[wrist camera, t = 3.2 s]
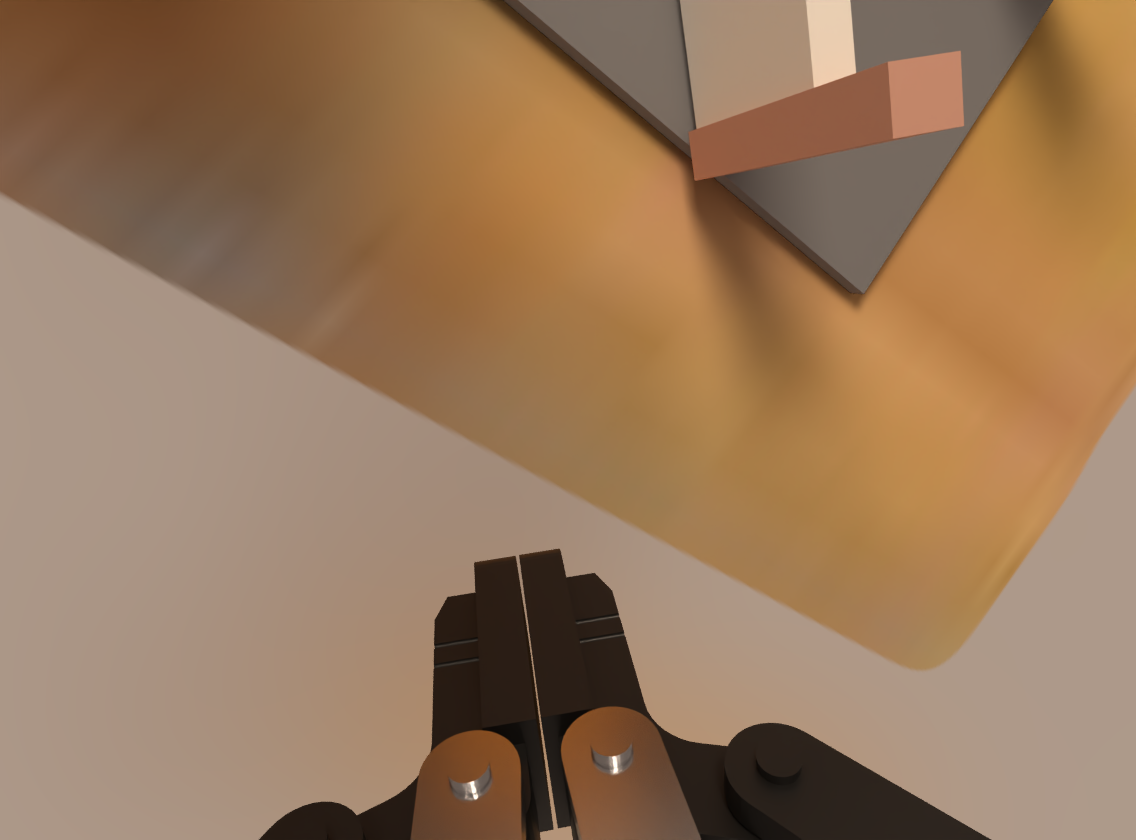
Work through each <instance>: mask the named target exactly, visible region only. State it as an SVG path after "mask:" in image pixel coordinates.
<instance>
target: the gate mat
mask: <svg viewBox="0 0 1136 840" xmlns="http://www.w3.org/2000/svg"><path fill="white" fill-rule="evenodd" d="M504 1H505V2H506V3H507V4H508V5H509V6H511V7H512V8H513V9H514V10H515V11H517V12H518V13H519V14H520V15H521V16H523V17H524V18H525V19H526V20H527V21H528V22H530V23H531V24H532V25H533V26H534V27H536V28H537V29H538V30H539V31H540V32H542V33H543V34H544V35H545V36H546V37H547V38H549V39H550V40H551V41H552V42H553V43H555V44H556V45H557V46H558V47H559V48H561V49H562V50H563V51H564V52H565V53H566V54H568V55H569V56H570V57H571V58H572V59H574V60H575V61H576V62H577V63H578V64H580V65H581V66H582V67H583V68H584V69H585V70H587V71H588V72H589V73H590V74H591V75H593V76H594V77H595V78H596V79H597V80H599V81H600V82H601V83H602V84H603V85H604V86H606V87H607V88H608V89H609V90H610V91H612V92H613V93H614V94H615V95H616V96H618V97H619V98H620V99H621V100H622V101H623V102H625V103H626V104H627V105H628V106H629V107H631V108H632V109H633V110H634V111H635V112H637V113H638V114H639V115H640V116H641V117H642V118H644V119H645V120H646V121H647V122H648V123H650V124H651V125H652V126H653V127H654V128H656V129H657V130H658V131H659V132H660V133H661V134H663V135H664V136H665V137H666V138H667V139H669V140H670V141H671V142H672V143H673V144H675V145H676V146H677V147H678V148H679V149H680V150H682V151H683V152H684V153H685V154H686V155H688V156H689V157H690V158H691V159H692V157H691V149H690V142H689V134H688V132H690V131H693V130H695V129H697V128H696V121H695V113H694V105H693V98H692V90H691V82H690V75H689V67H688V59H687V52H686V44H685V36H684V28H683V21H682V13H681V5H680V0H504ZM1052 1H1053V0H850V2H851V15H852V28H853V40H854V53H855V66H856V73H858V72H860V71H863V70H866V69H869V68H872V67H875V66H877V65H880V64H883V63H886V62H890V61H896V60H903V59H909V58H916V57H922V56H929V55H935V54H942V53H949V52H955V51H961V69H962V91H963V112H964V126H961V127H957V128H952V129H947V130H942V131H937V132H933V133H928V134H923V135H918V136H913V137H909V138H904V139H899V140H894V141H889V142H885V143H880V144H875V145H870V146H865V147H861V148H856V149H851V150H846V151H841V152H837V153H832V154H827V155H822V156H817V157H813V158H808V159H803V160H798V161H793V162H789V163H784V164H779V165H774V166H769V167H765V168H760V169H755V170H750V171H745V172H740V173H735V174H729V175H724V176H718V177H714V178H715V179H716V180H717V181H718V182H720V183H721V184H722V185H723V186H724V187H726V188H727V189H728V190H729V191H730V192H731V193H733V194H734V195H735V196H736V197H737V198H739V199H740V200H741V201H742V202H743V203H745V204H746V205H747V206H748V207H749V208H750V209H752V210H753V211H754V212H755V213H756V214H758V215H759V216H760V217H761V218H762V219H764V220H765V221H766V222H767V223H768V224H769V225H771V226H772V227H773V228H774V229H775V230H777V231H778V232H779V233H780V234H781V235H783V236H784V237H785V238H786V239H787V240H788V241H790V242H791V243H792V244H793V245H794V246H796V247H797V248H798V249H799V250H800V251H802V252H803V253H804V254H805V255H806V256H807V257H809V258H810V259H811V260H812V261H813V262H815V263H816V264H817V265H818V266H819V267H821V268H822V269H823V270H824V271H825V272H826V273H828V274H829V275H830V276H831V277H832V278H834V279H835V280H836V281H837V282H838V283H840V284H841V285H842V286H843V287H844V288H845V289H847V290H848V291H849V292H850V293H858V294H864V293H865V291H866V290H867V288H868V287H869V285H870V284H871V282H872V281H873V279H874V277H875V276H876V274H877V273H878V271H879V270H880V268H881V267H882V265H883V263H884V262H885V260H886V259H887V257H888V256H889V254H890V253H891V251H892V249H893V248H894V246H895V245H896V243H897V242H898V240H899V239H900V237H901V236H902V234H903V232H904V231H905V229H906V228H907V226H908V225H909V223H910V222H911V220H912V218H913V217H914V215H915V214H916V212H917V211H918V209H919V208H920V206H921V205H922V203H923V201H924V200H925V198H926V197H927V195H928V194H929V192H930V191H931V189H932V187H933V186H934V184H935V183H936V181H937V180H938V178H939V177H940V175H941V174H942V172H943V170H944V169H945V167H946V166H947V164H948V163H949V161H950V160H951V158H952V156H953V155H954V153H955V152H956V150H957V149H958V147H959V146H960V144H961V143H962V141H963V139H964V138H965V136H966V135H967V133H968V132H969V130H970V129H971V127H972V125H973V124H974V122H975V121H976V119H977V118H978V116H979V115H980V113H981V111H982V110H983V108H984V107H985V105H986V104H987V102H988V101H989V99H990V98H991V96H992V94H993V93H994V91H995V90H996V88H997V87H998V85H999V84H1000V82H1001V80H1002V79H1003V77H1004V76H1005V74H1006V73H1007V71H1008V70H1009V68H1010V67H1011V65H1012V63H1013V62H1014V60H1015V59H1016V57H1017V56H1018V54H1019V53H1020V51H1021V49H1022V48H1023V46H1024V45H1025V43H1026V42H1027V40H1028V39H1029V37H1030V36H1031V34H1032V32H1033V31H1034V29H1035V28H1036V26H1037V25H1038V23H1039V22H1040V20H1041V18H1042V17H1043V15H1044V14H1045V12H1046V11H1047V9H1048V8H1049V6H1050V4H1051V3H1052Z"/></svg>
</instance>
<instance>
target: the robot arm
mask: <svg viewBox="0 0 1136 840" xmlns="http://www.w3.org/2000/svg"><path fill="white" fill-rule="evenodd" d="M519 557H520V565H521V573H522V579H523V587H524V595H525V603H526V609H527V617H528V624H529V633H530V640H531V647H532V655H533V663H534V670H535V677H536V684H537V693H538V700H539V706H540V714H541V722H542V728H543V735H544V741H545V748H546V754H547V760H548V767H549V773H550V780H551V786H552V793H553V799H554V805H555V812H556V818H557V824H558V828H562V827H567V826H571V829H572V836H573V840H991V839H989V838H987V837H985V836H984V835H982V834H980V833H978V832H977V831H975V830H973V829H972V828H970V827H968V826H966V825H965V824H963V823H961V822H959V821H958V820H956V819H954V818H953V817H951V816H949V815H947V814H945V813H944V812H942V811H940V810H939V809H937V808H935V807H934V806H932V805H930V804H928V803H927V802H925V801H923V800H922V799H920V798H918V797H916V796H915V795H913V794H911V793H909V792H908V791H906V790H904V789H902V788H901V787H899V786H897V785H895V784H894V783H892V782H890V781H888V780H887V779H885V778H883V777H882V776H880V775H878V774H877V773H875V772H873V771H871V770H870V769H868V768H866V767H864V766H862V765H861V764H859V763H858V762H856V761H854V760H852V759H851V758H849V757H847V756H845V755H843V754H842V753H840V752H838V751H836V750H835V749H833V748H831V747H830V746H828V745H826V744H825V743H823V742H821V741H819V740H818V739H816V738H814V737H813V736H811V735H809V734H807V733H806V732H804V731H801V730H800V729H797V728H795V727H792V726H789V725H784V724H779V723H763V724H758V725H753V726H751V727H748V728H746V729H744V730H742V731H741V732H739V733H738V734H737V735H736V736H735V737H734V738H733V739H732V740H731V742H730V743H729V745H728V746H720V745H711V744H702V743H695V742H689V741H686V740H683V739H680V738H678V737H676V736H673V735H671V734H670V733H668V732H667V731H665V730H663V729H662V728H661V727H660V726H659V725H658V724H657V723H656V722H655V721H654V720H653V719H652V718H651V716H650V714H649V713H648V711H647V709H646V706H645V703H644V700H643V697H642V693H641V689H640V686H639V682H638V679H637V676H636V672H635V669H634V665H633V662H632V658H631V655H630V651H629V648H628V644H627V641H626V637H625V636H624V630H623V627H622V623H621V620H620V618H619V613H618V609H617V606H616V603H615V599H614V596H613V592H612V590H611V589H610V588H609V587H608V586H607V585H606V584H605V583H604V582H603V581H602V580H601V579H600V578H599V577H598V576H597V575H596V574H595V573H592V574H585V575H579V576H573V577H567V578H566V575H565V570H564V565H563V560H562V555H561V551H560V549H554V550H548V551H542V552H535V553H529V554H524V555H519ZM474 568H475V569H474V570H475V592H476V593H470V594H464V595H458V596H451V597H447V599H446V601H445V603H444V604H443V606H442V608H441V610H440V612H439V613H438V615H437V617H436V619H435V631H434V633H435V634H434V635H435V636H434V646H435V649H434V677H433V678H434V681H433V721H432V723H433V724H432V747H431V752H430V754H429V755H428V756H427V758H426V760H425V761H424V763H423V765H422V767H421V769H420V773H419V776H418V777H417V778H416V779H415V780H414V781H413V782H412V783H411V784H410V785H409V786H408V787H407V788H406V789H405V790H403V791H402V792H400V793H399V794H398V795H396V796H394V797H393V798H391V799H389V800H387V801H385V802H383V803H381V804H380V805H377V806H375V807H373V808H371V809H369V810H367V811H365V812H363V813H361V814H359V815H356V814H355V813H354V812H353V811H352V810H351V809H349V808H347V807H346V806H344V805H342V804H339V803H334V802H318V803H312V804H308V805H305V806H302V807H300V808H298V809H295V810H293V811H292V812H290V813H288V814H286V815H285V816H284V817H282V818H281V819H280V820H278V821H277V822H276V823H275V824H274V825H273V826H272V827H271V828H269V830H268V831H267V832H266V833H265V834H264V835H263V836H262V837H261V838H260V839H259V840H540V832H543V831H548V830H553V821H552V814H551V806H550V799H549V791H548V783H547V775H546V768H545V760H544V753H543V745H542V738H541V730H540V723H539V715H538V706H537V699H536V692H535V684H534V676H533V668H532V661H531V653H530V646H529V639H528V632H527V625H526V619H525V612H524V606H523V600H522V594H521V587H520V580H519V574H518V567H517V561H516V557H515V556H512V557H506V558H499V559H493V560H487V561H480V562H475V563H474Z"/></svg>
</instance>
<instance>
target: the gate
mask: <svg viewBox="0 0 1136 840" xmlns="http://www.w3.org/2000/svg"><path fill="white" fill-rule="evenodd" d="M680 5H681V13H682V21H683V28H684V36H685V44H686V52H687V59H688V67H689V75H690V82H691V90H692V98H693V105H694V113H695V121H696V128H697V129H695V130H693V131H690V132H688V134H689V142H690V149H691V157H692V164H693V172H694V179H695V181H697V180H702V179H707V178H713V177H718V176H724V175H729V174H735V173H740V172H745V171H750V170H755V169H760V168H765V167H769V166H774V165H779V164H784V163H789V162H793V161H798V160H803V159H808V158H813V157H817V156H822V155H827V154H832V153H837V152H841V151H846V150H851V149H856V148H861V147H865V146H870V145H875V144H880V143H885V142H889V141H894V140H899V139H904V138H909V137H913V136H918V135H923V134H928V133H933V132H937V131H942V130H947V129H952V128H957V127H961V126H964V112H963V91H962V69H961V51H955V52H949V53H942V54H935V55H929V56H922V57H916V58H909V59H903V60H896V61H890V62H886V63H883V64H880V65H877V66H875V67H872V68H869V69H866V70H863V71H860V72H858V73H856V66H855V53H854V40H853V28H852V15H851V2H850V0H680Z"/></svg>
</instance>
